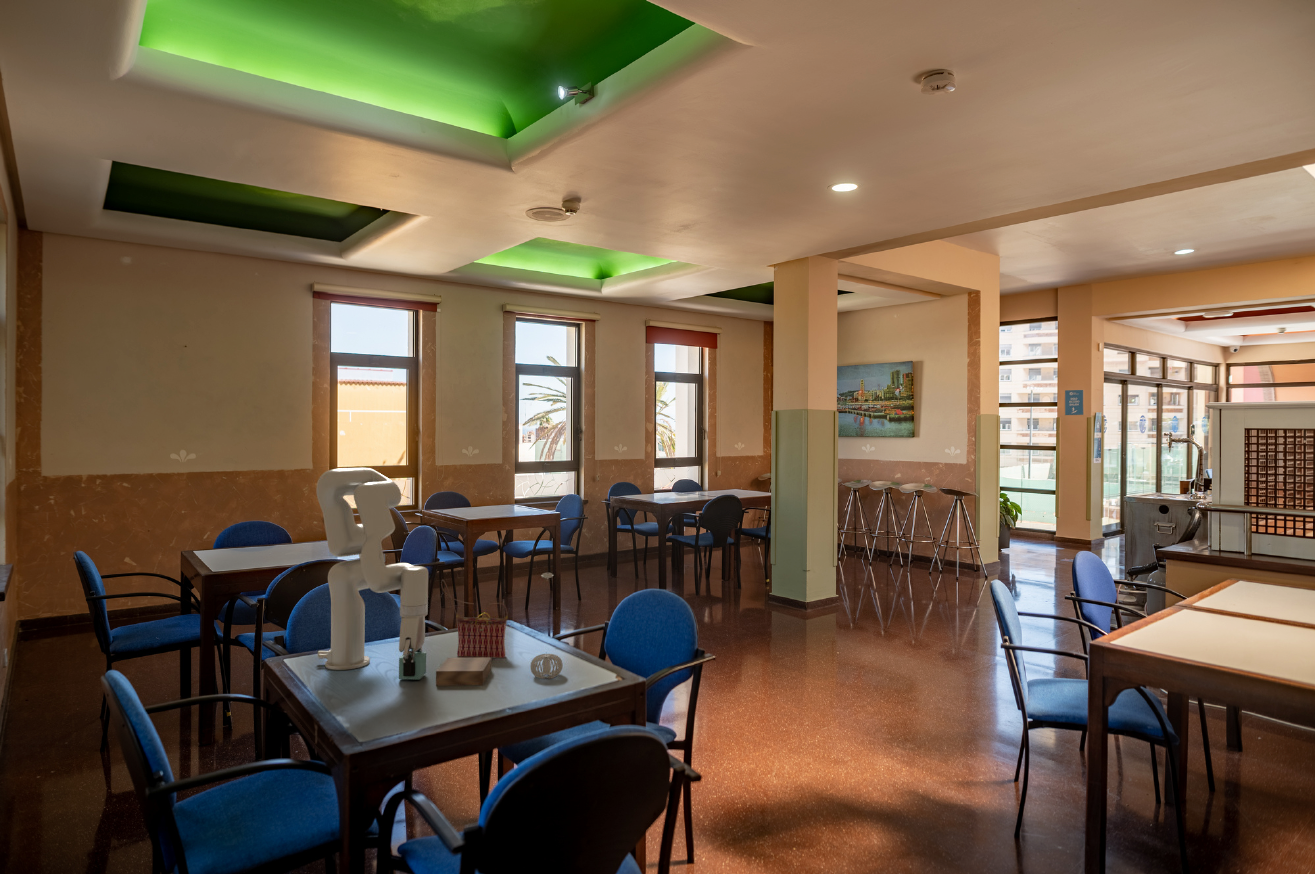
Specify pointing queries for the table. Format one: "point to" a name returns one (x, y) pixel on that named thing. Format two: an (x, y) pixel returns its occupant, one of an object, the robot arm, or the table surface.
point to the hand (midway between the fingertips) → (412, 671)
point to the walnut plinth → (463, 671)
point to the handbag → (480, 635)
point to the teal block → (419, 666)
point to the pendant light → (546, 658)
